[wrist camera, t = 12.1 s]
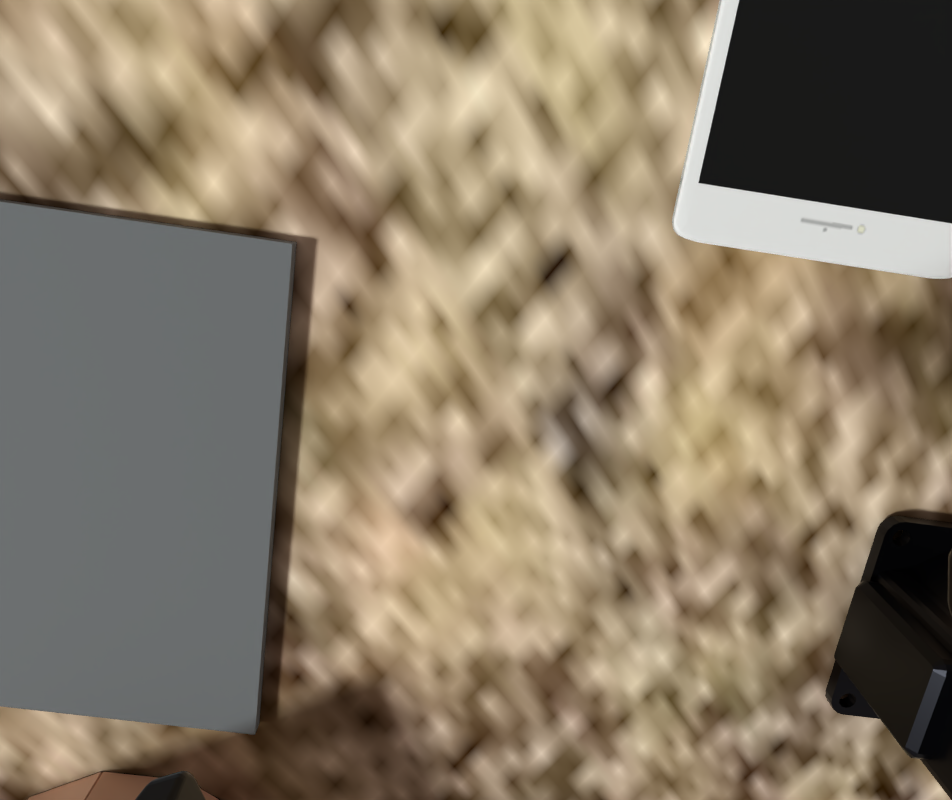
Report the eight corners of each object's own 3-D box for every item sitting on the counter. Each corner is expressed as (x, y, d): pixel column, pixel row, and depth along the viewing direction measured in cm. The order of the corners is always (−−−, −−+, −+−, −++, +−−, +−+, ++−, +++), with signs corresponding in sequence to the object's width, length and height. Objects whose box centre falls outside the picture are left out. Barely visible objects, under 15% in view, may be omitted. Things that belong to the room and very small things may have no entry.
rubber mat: (296, 242, 20) (292, 243, 19) (259, 723, 24) (255, 734, 24) (-306, 155, 19) (-326, 154, 19) (-237, 667, 23) (-252, 678, 23)
